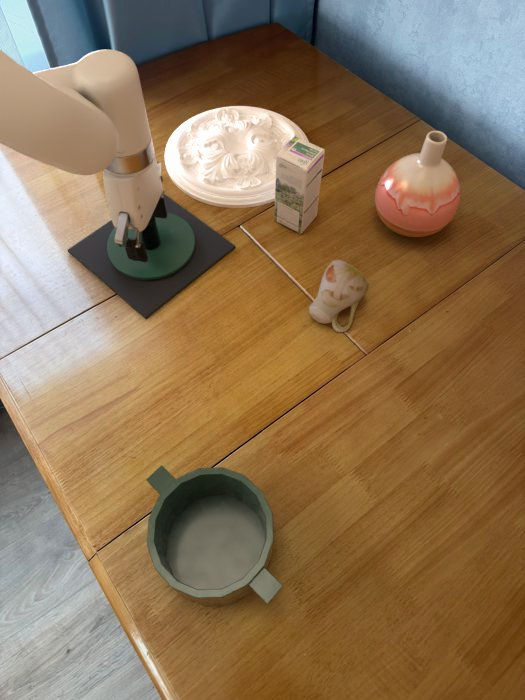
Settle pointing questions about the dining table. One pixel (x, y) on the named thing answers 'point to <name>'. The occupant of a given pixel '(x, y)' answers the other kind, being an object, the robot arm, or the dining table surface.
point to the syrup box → (298, 184)
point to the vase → (419, 191)
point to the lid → (156, 248)
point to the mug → (338, 294)
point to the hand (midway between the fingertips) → (148, 237)
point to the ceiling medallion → (229, 155)
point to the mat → (155, 291)
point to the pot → (212, 536)
